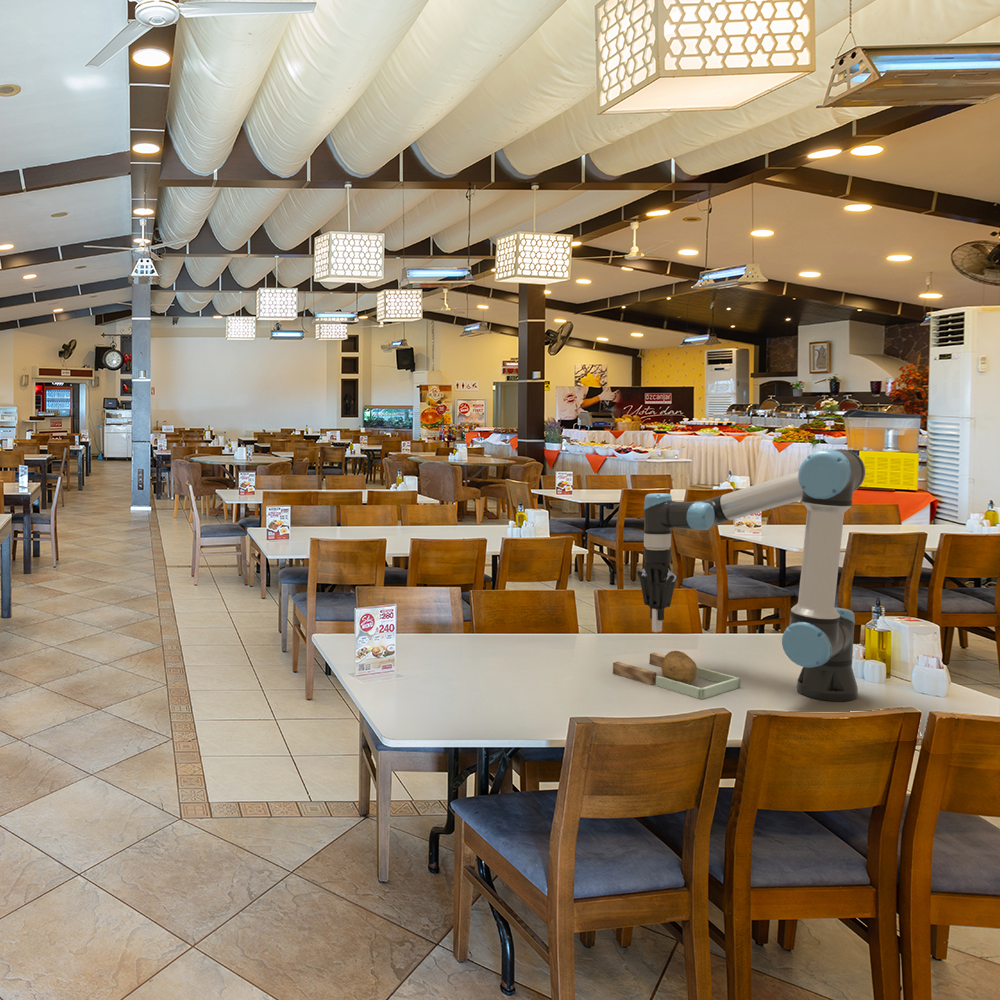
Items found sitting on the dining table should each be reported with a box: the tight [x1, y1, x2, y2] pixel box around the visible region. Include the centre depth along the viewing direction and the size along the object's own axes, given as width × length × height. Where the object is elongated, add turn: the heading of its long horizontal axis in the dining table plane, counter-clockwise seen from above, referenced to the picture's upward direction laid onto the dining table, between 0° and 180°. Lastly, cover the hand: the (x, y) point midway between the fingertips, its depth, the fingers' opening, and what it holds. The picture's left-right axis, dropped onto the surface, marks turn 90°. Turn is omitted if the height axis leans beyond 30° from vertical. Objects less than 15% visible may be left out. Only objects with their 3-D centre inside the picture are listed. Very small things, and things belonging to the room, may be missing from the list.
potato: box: [660, 650, 698, 685], centre depth 237 cm, size 10×14×8 cm
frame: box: [655, 666, 741, 700], centre depth 235 cm, size 15×17×2 cm
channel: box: [612, 652, 666, 686], centre depth 246 cm, size 14×18×3 cm
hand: (657, 631), depth 246 cm, fingers closed
